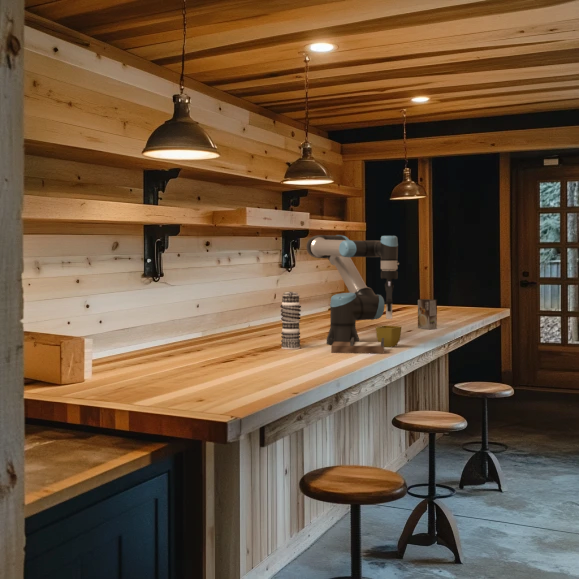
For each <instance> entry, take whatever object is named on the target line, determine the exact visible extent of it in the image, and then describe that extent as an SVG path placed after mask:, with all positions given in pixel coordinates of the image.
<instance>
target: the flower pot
mask: <svg viewBox="0 0 579 579" xmlns="http://www.w3.org/2000/svg"><path fill="white" fill-rule="evenodd" d="M375 333H376V338H377V342H381V340H382V338H384V348H395V347H396V346H397V345H398V344H399V342H400V339H401V334H402V326H397V325H380V326H376V327H375Z"/></svg>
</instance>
